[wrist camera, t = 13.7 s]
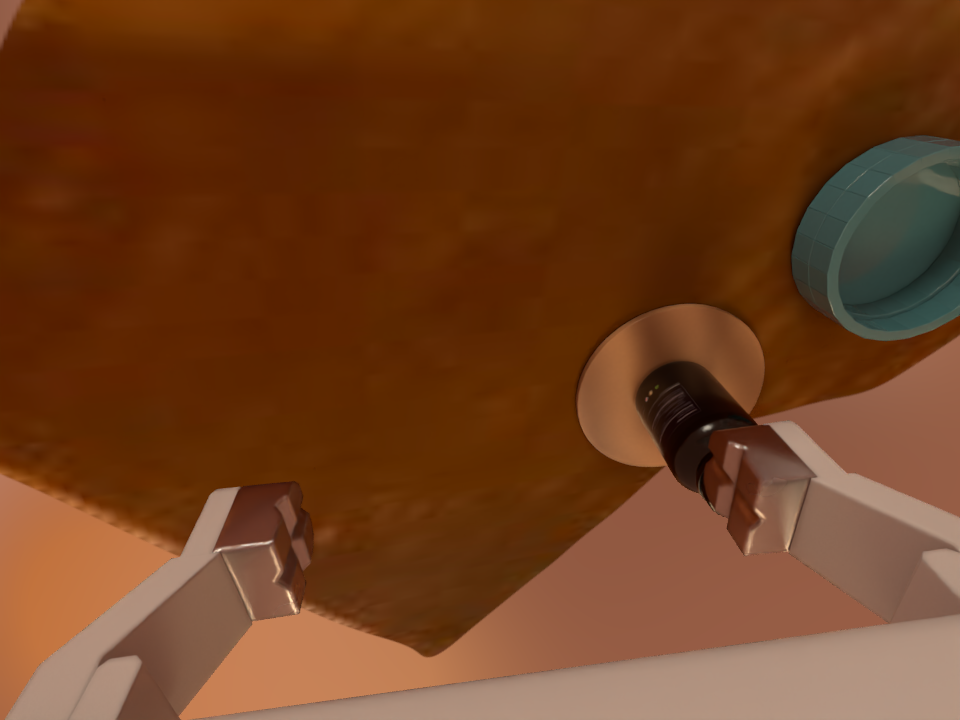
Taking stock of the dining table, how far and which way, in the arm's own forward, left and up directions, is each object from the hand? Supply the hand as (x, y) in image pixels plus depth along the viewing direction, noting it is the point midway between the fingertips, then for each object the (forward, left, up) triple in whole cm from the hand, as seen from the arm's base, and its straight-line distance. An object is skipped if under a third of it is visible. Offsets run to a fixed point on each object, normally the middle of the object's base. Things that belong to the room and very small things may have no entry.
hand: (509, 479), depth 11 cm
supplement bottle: (-5, +25, -29) cm, 38 cm away
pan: (-24, +22, -29) cm, 44 cm away
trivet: (-5, +25, -29) cm, 39 cm away
